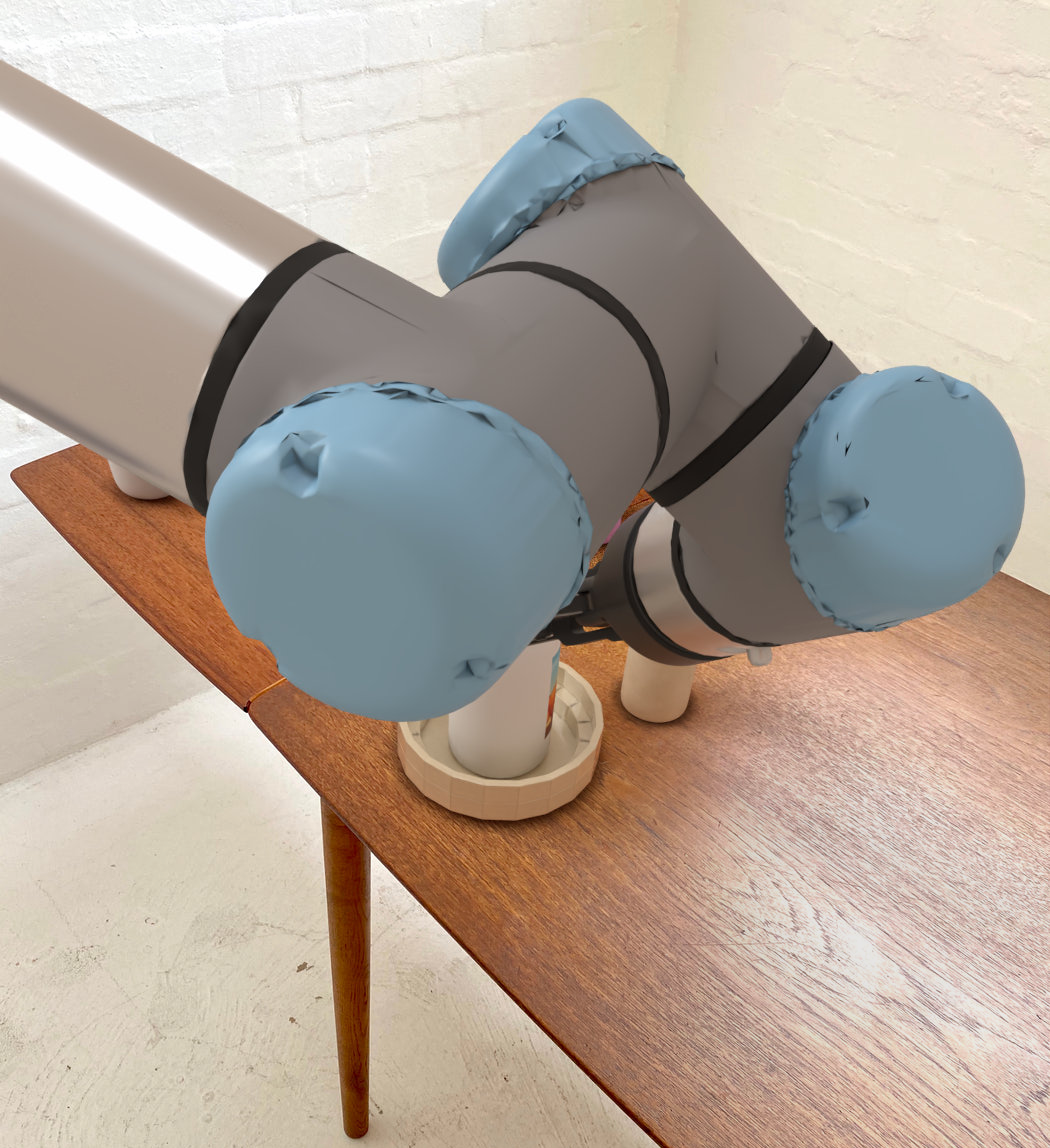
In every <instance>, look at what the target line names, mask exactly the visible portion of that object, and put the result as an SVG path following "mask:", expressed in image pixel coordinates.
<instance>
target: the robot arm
mask: <svg viewBox="0 0 1050 1148" xmlns="http://www.w3.org/2000/svg"><path fill="white" fill-rule="evenodd" d="M436 257H437V258H436V263H437V264H436V265H437V270H438V274H439V277H440V279H441V281H442V283H444V285H445V286H446V287H447V288H448V290H449V291H448V292H447V293H445V294H444V295H442V296H439V295H436V294H434V293H432V292H430V291H428V290H426V289H425V288H422V287H421V286H419V285H417V284H415V283H413V282H411V281H409V280H408V279H406V278H404V277H402V276H400V275H398V274H396V273H395V272H393V271H391V270H389V269H387V268H385V267H383V266H381V265H379V264H377V263H375V262H373V261H371V260H369V259H367V258H365V257H362V256H361V255H358V254H357V253H355V252H353V251H351V250H349V249H348V248H345V247H343V246H341V245H339V244H338V243H336V242H333V241H332V240H330V239H328V238H326V237H325V236H323V235H321V234H319V233H317V232H315V231H313V230H311V229H310V228H309V227H306V226H304V225H302V224H301V223H299V222H297V221H295V220H294V219H291V218H290V217H288V216H286V215H285V214H283V213H281V212H280V211H277V210H275V209H274V208H272V207H270V206H268V205H267V204H265V203H263V202H261V201H259V200H257V199H256V198H253V197H252V196H250V195H249V194H247V193H244V192H243V191H241V190H239V189H237V188H235V187H234V186H231V185H230V184H228V183H226V182H225V181H222V180H221V179H220V178H217V177H216V176H213V175H212V174H210V173H208V172H207V171H204V170H203V169H201V168H199V167H197V166H195V165H194V164H192V163H190V162H188V161H186V160H185V159H183V158H181V157H179V156H177V155H175V154H173V153H171V152H170V151H168V150H166V149H164V148H163V147H161V146H159V145H157V144H155V143H153V142H152V141H150V140H148V139H146V138H144V137H142V136H141V135H139V134H137V133H136V132H134V131H132V130H130V129H128V128H127V127H125V126H122V125H121V124H119V123H117V122H115V121H114V120H111V119H110V118H108V117H106V116H104V115H102V114H101V113H99V112H98V111H95V110H93V109H91V108H90V107H88V106H86V105H84V104H82V103H81V102H79V101H77V100H75V99H74V98H72V97H71V96H68V95H67V94H64V93H62V92H61V91H59V90H57V89H55V88H53V87H52V86H50V85H48V84H46V83H44V82H43V81H41V80H39V79H37V78H35V77H33V76H31V74H28V73H26V72H24V71H22V70H21V69H19V68H17V67H15V66H13V65H12V64H9V63H8V62H6V61H4V60H2V59H1V58H0V400H1V401H4V402H5V403H7V404H9V405H11V406H13V407H14V408H15V409H18V410H19V411H21V412H23V413H25V414H27V415H28V416H30V417H31V418H34V419H35V420H37V421H39V422H40V423H42V424H44V425H46V426H48V427H49V428H51V429H53V430H55V431H57V432H58V433H60V434H62V435H63V436H65V437H66V438H69V439H70V440H72V441H73V442H76V443H78V444H79V445H82V446H83V447H85V448H86V449H88V450H90V451H91V452H94V453H95V454H97V455H99V456H101V457H102V458H104V459H105V460H107V461H108V460H109V461H111V462H113V463H115V464H116V465H118V466H120V467H122V468H123V469H125V470H127V471H129V472H131V473H132V474H134V475H136V476H138V477H139V478H141V479H143V480H145V481H146V482H148V483H150V484H152V485H153V486H155V487H157V488H159V489H161V490H162V491H164V492H166V493H168V494H169V496H171V497H172V498H175V499H176V500H178V501H180V502H181V503H183V504H185V505H187V506H189V507H190V508H192V509H194V510H195V511H197V513H198V514H200V515H201V516H202V517H204V518H205V525H204V526H205V528H204V529H205V530H204V545H205V546H204V547H205V554H206V555H205V556H206V560H207V567H208V570H209V573H210V577H211V580H212V582H213V585H214V588H215V590H216V592H217V594H218V596H219V599H220V601H221V603H222V605H223V607H224V609H225V610H226V612H227V615H228V616H229V618H230V620H231V621H232V622H233V624H234V625H235V627H236V628H237V630H238V631H239V633H240V634H241V635H242V636H243V637H245V638H248V639H251V640H255V641H259V642H261V643H262V644H263V645H264V646H265V647H266V648H267V649H268V651H270V653H271V654H272V656H273V657H274V658H275V660H276V669H277V671H278V673H279V674H280V676H282V677H284V678H285V679H286V680H287V681H288V682H289V683H290V684H291V685H293V686H294V687H296V688H297V689H298V690H301V691H302V692H303V693H305V694H307V695H308V696H310V697H311V698H314V699H315V700H318V701H319V702H321V703H323V704H324V705H326V706H330V707H331V708H335V709H337V710H339V711H342V712H345V713H348V714H352V715H355V716H360V717H364V718H369V719H372V720H376V721H385V722H392V723H393V722H395V723H397V722H413V721H421V720H427V719H432V718H438V717H441V716H444V715H447V714H449V713H452V712H455V711H457V710H459V709H461V708H463V707H465V706H467V705H468V704H470V703H472V702H474V701H475V700H477V699H478V698H479V697H480V696H481V695H483V694H484V693H485V692H486V691H488V690H489V689H490V688H491V687H492V686H493V685H494V684H495V683H496V682H497V681H498V680H499V679H500V677H501V676H502V675H503V674H504V673H505V672H506V670H507V669H508V668H509V667H510V666H511V665H512V663H513V662H514V661H515V660H516V659H517V658H518V656H519V655H520V654H521V653H522V652H523V651H524V649H525V648H526V647H527V646H531V645H536V644H541V643H545V642H550V641H554V640H559V641H560V642H561V645H563V646H565V647H572V646H582V645H587V644H591V643H597V642H602V641H607V640H608V641H609V642H624V643H625V644H626V645H627V646H628V647H629V646H630V647H631V648H632V649H633V650H635V651H636V652H637V653H639V654H641V655H642V656H644V657H646V658H648V659H650V660H652V661H655V662H658V663H661V664H666V665H671V666H690V665H696V664H697V665H701V664H706V663H710V662H714V661H716V662H717V661H720V660H724V659H727V658H732V657H734V656H737V655H742V654H743V655H744V654H746V657H747V660H748V663H750V665H751V666H753V667H759V668H760V667H765V666H768V665H770V664H771V663H772V661H773V652H772V648H775V647H782V646H788V645H794V644H800V643H804V642H805V643H806V642H810V641H816V640H822V639H827V638H833V637H838V636H844V635H851V634H857V633H873V632H875V633H878V632H884V631H886V630H888V629H890V628H896V627H899V626H900V625H902V624H903V623H905V622H909V621H912V620H915V619H919V618H923V617H926V616H929V615H931V614H933V613H936V612H939V611H942V610H944V609H945V608H949V607H952V606H954V605H956V604H959V603H961V602H963V601H964V600H966V599H968V598H969V597H971V596H972V595H974V594H976V593H978V592H979V591H980V590H981V589H982V588H984V587H985V586H986V585H987V584H988V583H989V582H990V581H991V580H992V579H993V578H994V577H995V575H997V574H998V573H999V572H1000V571H1001V570H1002V568H1003V566H1004V564H1005V563H1006V560H1007V559H1008V558H1009V556H1010V554H1011V553H1012V551H1013V549H1014V547H1015V544H1016V541H1017V539H1018V537H1019V533H1020V530H1021V527H1022V523H1023V518H1024V512H1025V504H1026V479H1025V471H1024V466H1023V462H1022V461H1023V460H1022V457H1021V454H1020V450H1019V447H1018V445H1017V442H1016V439H1015V437H1014V435H1013V432H1012V431H1011V429H1010V426H1009V425H1008V423H1007V421H1006V420H1005V418H1004V416H1003V415H1002V413H1001V412H1000V410H999V409H998V408H997V407H996V405H995V404H994V403H993V402H992V401H991V400H990V399H989V398H988V396H986V395H985V394H984V393H983V392H982V391H981V390H979V389H978V388H977V387H976V386H974V385H972V383H969V382H967V381H963V380H960V379H957V378H955V377H953V376H951V375H948V374H946V373H945V372H941V371H938V370H936V369H935V368H932V367H930V366H927V365H919V364H918V365H916V364H913V365H912V364H911V365H900V366H894V367H893V366H892V367H889V368H885V369H881V370H876V371H875V372H873V373H867V372H863V373H862V372H861V370H860V369H859V368H858V367H857V366H856V365H855V364H854V362H853V361H852V360H851V359H850V358H849V357H848V356H847V354H846V353H845V352H844V351H843V350H842V349H841V348H840V347H839V346H838V345H837V344H836V342H835V341H834V340H832V339H829V340H828V338H827V337H826V336H825V335H824V333H822V332H821V331H820V330H819V328H818V327H817V326H816V325H814V323H812V321H811V320H810V319H809V318H808V317H807V316H806V315H805V313H804V312H803V311H802V310H801V309H800V308H799V307H798V306H797V305H796V304H795V303H794V301H793V300H792V299H791V298H790V297H789V296H788V295H787V293H786V292H785V291H784V290H783V289H782V288H781V286H779V284H778V283H777V282H776V280H774V279H773V278H772V276H771V275H770V274H769V273H768V272H767V271H766V270H765V269H764V268H763V266H762V265H761V264H760V263H759V262H758V261H757V260H756V259H755V257H754V256H753V255H752V254H751V253H750V252H749V250H747V248H746V247H745V246H744V245H743V243H741V242H740V240H738V239H737V237H736V236H735V235H734V234H733V233H732V231H731V230H730V229H729V228H728V227H727V226H726V225H725V224H724V223H723V222H722V221H721V219H720V218H719V217H718V216H717V215H716V214H715V213H714V211H713V210H712V209H711V208H710V207H709V205H708V204H707V203H706V202H705V201H704V200H703V199H702V198H701V197H700V195H698V193H697V192H696V191H695V190H694V189H693V188H692V187H691V186H690V184H689V183H688V182H687V181H686V174H685V173H684V171H683V170H682V169H681V167H679V166H678V165H677V164H676V163H675V161H674V160H673V158H670V157H668V156H666V155H664V154H661V153H659V152H658V150H656V148H655V147H653V146H652V145H651V144H650V142H648V141H647V140H646V139H645V138H644V137H643V136H642V135H641V134H640V133H639V132H638V131H636V130H635V128H634V127H632V126H631V125H630V124H629V123H628V122H627V121H626V120H625V119H624V118H622V116H621V115H620V114H619V113H617V111H616V110H614V109H613V108H612V107H611V106H610V105H609V104H606V103H605V102H604V101H602V100H599V99H596V98H593V97H578V98H572V99H570V100H567V101H565V102H563V103H560V104H559V105H557V106H556V107H554V108H553V109H551V110H550V111H549V112H547V113H546V114H545V115H544V116H543V117H542V118H541V119H540V120H539V121H538V122H537V123H536V124H535V125H534V126H533V128H532V129H531V130H530V131H528V133H527V134H523V135H521V137H520V138H519V139H518V140H517V141H516V142H515V143H514V144H512V145H511V147H510V148H509V149H507V151H506V152H505V153H504V155H502V157H501V158H500V159H499V160H498V161H497V162H496V163H495V164H494V165H493V167H492V168H491V169H490V170H489V172H488V173H486V175H485V177H484V178H483V179H482V180H481V181H480V183H479V184H478V185H477V186H476V188H474V190H473V191H472V192H471V194H470V195H469V196H468V197H467V199H466V200H465V202H464V203H463V205H462V206H461V207H460V209H459V210H458V212H457V213H456V214H455V216H454V218H453V219H452V221H451V223H450V224H449V226H448V228H447V229H446V231H445V233H444V235H443V237H442V239H441V241H440V243H439V247H438V250H437V256H436ZM642 489H643V490H644V491H645V493H646V494H648V496H649V497H650V498H652V499H653V501H652V502H650V503H649V504H647V505H645V506H644V507H642V508H641V509H639V510H637V511H635V512H634V513H632V514H631V515H630V516H629V517H627V518H626V519H625V520H623V522H621V524H620V526H619V527H618V529H617V530H616V531H615V533H614V534H613V536H612V537H611V539H610V541H609V542H608V543H607V545H606V547H605V550H604V551H603V555H602V558H601V560H600V561H598V562H596V564H595V565H594V566H593V567H592V568H590V564H591V561H592V560H593V558H594V557H595V555H596V554H597V553H598V552H599V550H600V549H601V547H602V545H604V544H603V543H604V541H605V540H606V538H607V537H608V535H609V534H610V532H611V531H612V530H613V528H614V527H615V525H616V524H617V522H618V521H619V520H620V518H621V519H622V517H623V515H624V514H625V513H626V511H627V509H628V508H629V506H631V504H632V502H633V501H634V500H635V498H636V497H637V496H638V494H639V493H640V492H641V490H642ZM585 628H596V629H593V630H589V631H586V630H585ZM597 628H598V629H597Z"/></svg>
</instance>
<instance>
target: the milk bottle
mask: <svg viewBox="0 0 1050 1148" xmlns="http://www.w3.org/2000/svg"><path fill="white" fill-rule="evenodd" d="M561 645H562V643H561V642H560V641H559V640H554V641H550V642H545V643H541V644H536V645H531V646H527V647H526V648H525V649H524V651H523V652H522V653H521V654H520V655H519V656H518V658H517V659H516V660H515V661H514V662H513V663H512V665H511V666H510V667H509V668H508V669H507V670H506V672H505V673H504V674H503V675H502V676H501V677H500V679H499V680H498V681H497V682H496V683H495V684H494V685H493V686H492V687H491V688H490V689H489V690H488V691H486V692H485V693H484V694H483V695H481V696H480V697H479V698H478V699H477V700H475V701H474V702H472V703H470V704H468V705H467V706H465V707H463V708H461V709H459V710H457V711H455V712H452V713H449V728H448V736H449V746H450V749H451V751H452V753H453V755H454V756H455V758H456V759H457V760H458V761H459V763H460V764H462V765H463V766H464V767H465V768H467V769H468V770H470V771H472V772H474V773H476V774H479V775H481V776H486V777H490V778H512V777H516V776H520V775H523V774H525V773H528V772H529V771H531V770H532V769H534V768H535V767H536V766H537V765H538V764H539V763H540V762H541V761H542V760H543V759H544V757H545V755H546V754H547V751H548V748H549V742H550V735H551V728H552V720H553V711H554V703H555V695H556V686H557V677H558V668H559V661H560V659H561Z"/></svg>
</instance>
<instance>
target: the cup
mask: <svg viewBox="0 0 1050 1148" xmlns="http://www.w3.org/2000/svg"><path fill="white" fill-rule="evenodd" d="M107 463H108V465H109V469H110V471H111V472H110V473H111V474H112V477H113V479H114V481H115V484H116V485H117V488H119V490H120V491H121V492H122V493H124V494H126V495H127V496H128V497H132V498H135V499H140V500H156V499H162V498H165V497H169V496H170V495H169V494H168V493H166V492H164V491H162V490H161V489H159V488H157V487H155V486H153V485H152V484H150V483H148V482H146V481H145V480H143V479H141V478H139V477H138V476H136V475H134V474H132V473H131V472H129V471H127V470H125V469H123V468H122V467H120V466H118V465H116V464H115V463H113V462H111V461H109V460H108V459H107Z"/></svg>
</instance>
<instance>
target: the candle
mask: <svg viewBox="0 0 1050 1148" xmlns="http://www.w3.org/2000/svg"><path fill="white" fill-rule="evenodd" d="M627 647H628V649H627V654H626V658H625V659H626V661H625V665H624V670H623V676H622V682H621V689H620V701H621V703H622V706H623V707H624V708H625V710H626V711H627V712H628V713H630V714H631V715H632V716H633V717H636V718H637V719H640V720H643V721H646V722H651V723H667V722H671V721H674V720H676V719H678V718H680V717H681V716H682V715H683V714H684V713H685V711H686V709H687V707H688V704H689V700H690V696H691V692H692V687H693V683H694V679H695V676H696V675H695V674H696V671H697V666H698V664H696V665H690V666H671V665H666V664H661V663H658V662H655V661H652V660H650V659H648V658H646V657H644V656H642V655H641V654H639V653H637V652H636V651H635V650H633V649H632V648H631V647H630V646H629V645H628V646H627Z"/></svg>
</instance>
